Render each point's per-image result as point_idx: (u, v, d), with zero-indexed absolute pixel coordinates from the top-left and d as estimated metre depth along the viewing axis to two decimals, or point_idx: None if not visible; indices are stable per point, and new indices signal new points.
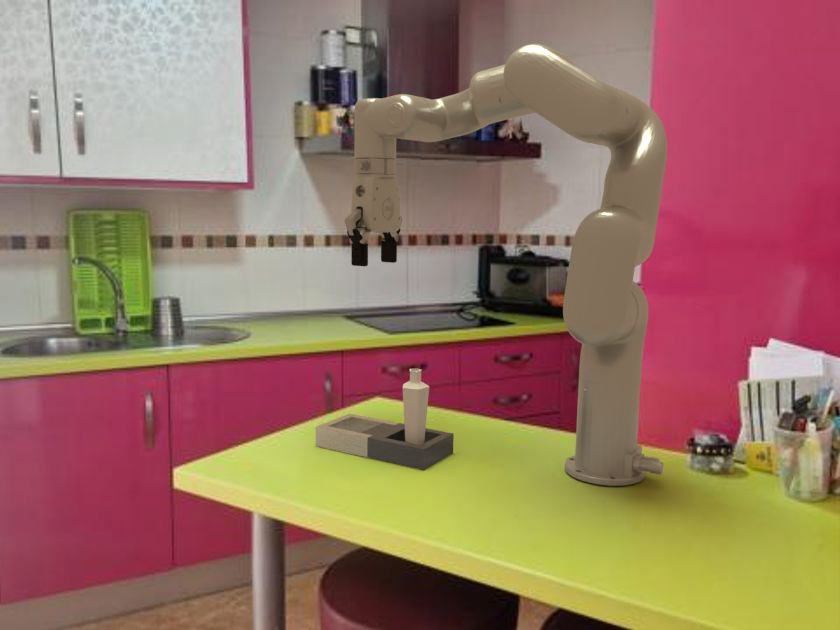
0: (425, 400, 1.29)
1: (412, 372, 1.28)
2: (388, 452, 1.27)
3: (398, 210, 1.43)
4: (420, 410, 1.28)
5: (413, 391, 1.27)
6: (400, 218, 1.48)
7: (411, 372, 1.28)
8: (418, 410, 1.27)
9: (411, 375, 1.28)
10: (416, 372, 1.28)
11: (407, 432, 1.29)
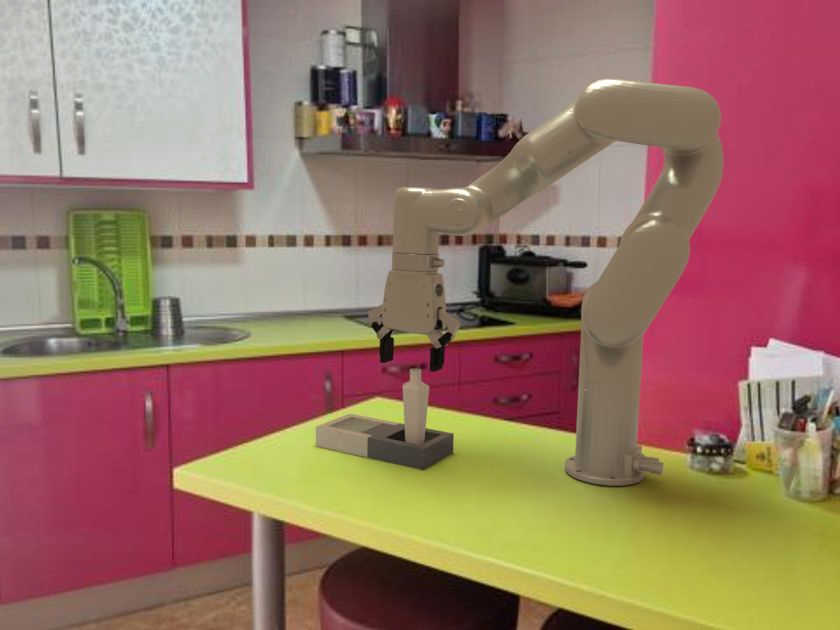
0: (425, 400, 1.29)
1: (412, 372, 1.28)
2: (388, 452, 1.27)
3: None
4: (420, 410, 1.28)
5: (413, 391, 1.27)
6: None
7: (411, 372, 1.28)
8: (418, 410, 1.27)
9: (411, 375, 1.28)
10: (416, 372, 1.28)
11: (407, 432, 1.29)
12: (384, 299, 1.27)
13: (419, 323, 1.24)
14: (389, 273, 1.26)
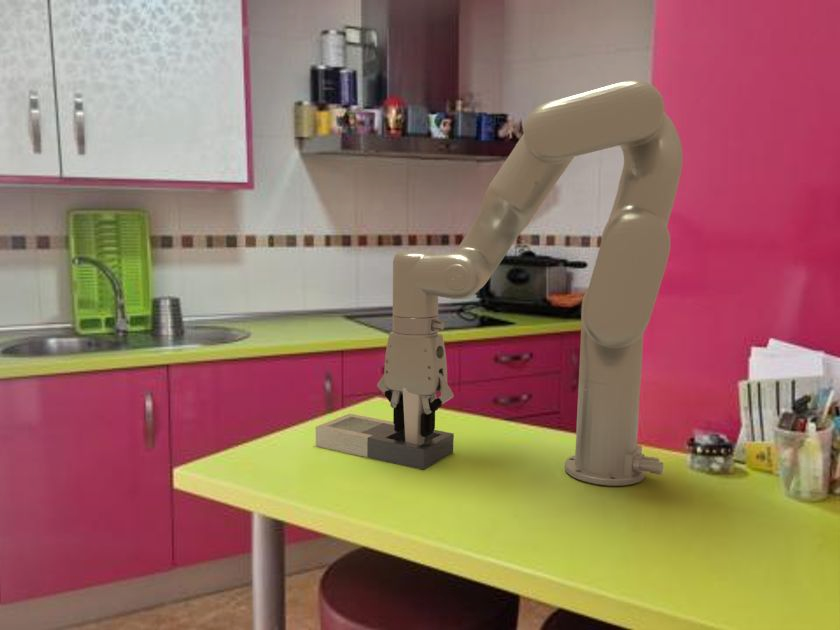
0: None
1: None
2: (388, 452, 1.27)
3: None
4: (420, 409, 1.28)
5: None
6: None
7: None
8: (418, 410, 1.28)
9: None
10: None
11: (407, 432, 1.29)
12: (386, 361, 1.29)
13: (421, 385, 1.26)
14: (390, 335, 1.28)
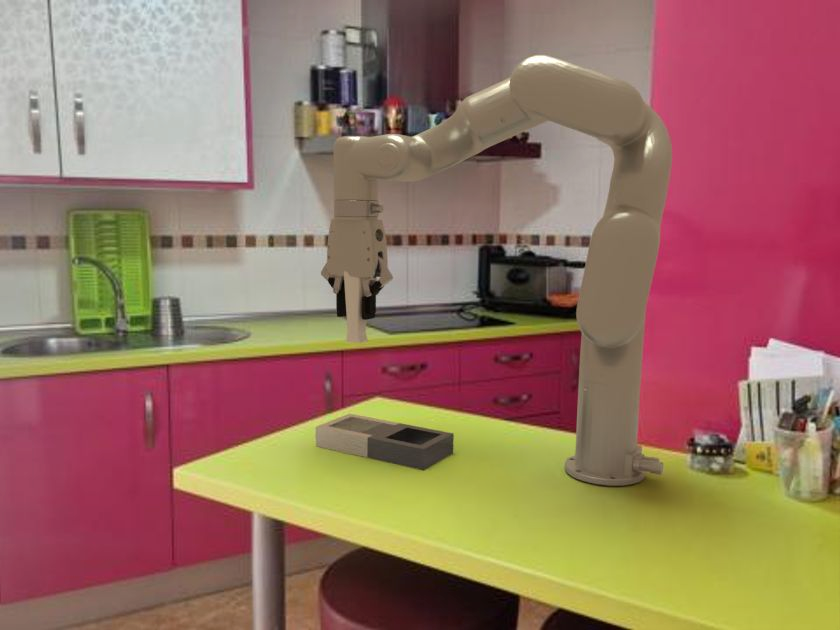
0: None
1: None
2: (388, 452, 1.27)
3: None
4: (360, 293, 1.31)
5: None
6: None
7: None
8: (358, 293, 1.31)
9: None
10: None
11: (349, 315, 1.32)
12: (328, 246, 1.32)
13: (361, 267, 1.29)
14: (331, 221, 1.31)
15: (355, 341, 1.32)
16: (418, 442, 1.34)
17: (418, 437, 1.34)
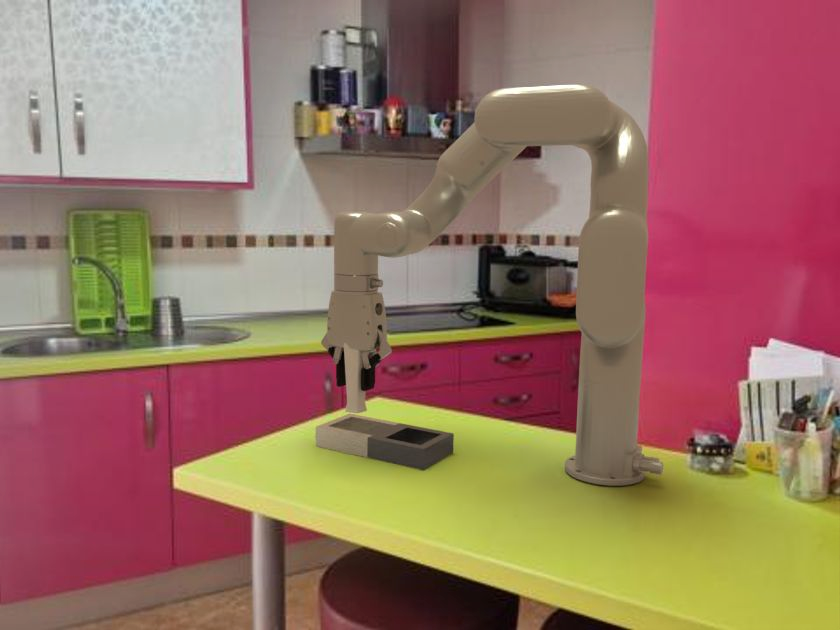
0: None
1: None
2: (388, 452, 1.27)
3: None
4: (360, 364, 1.33)
5: None
6: None
7: None
8: (358, 365, 1.33)
9: None
10: None
11: (348, 386, 1.34)
12: (328, 318, 1.34)
13: (360, 340, 1.31)
14: (332, 293, 1.33)
15: (354, 411, 1.34)
16: (418, 442, 1.34)
17: (418, 437, 1.34)
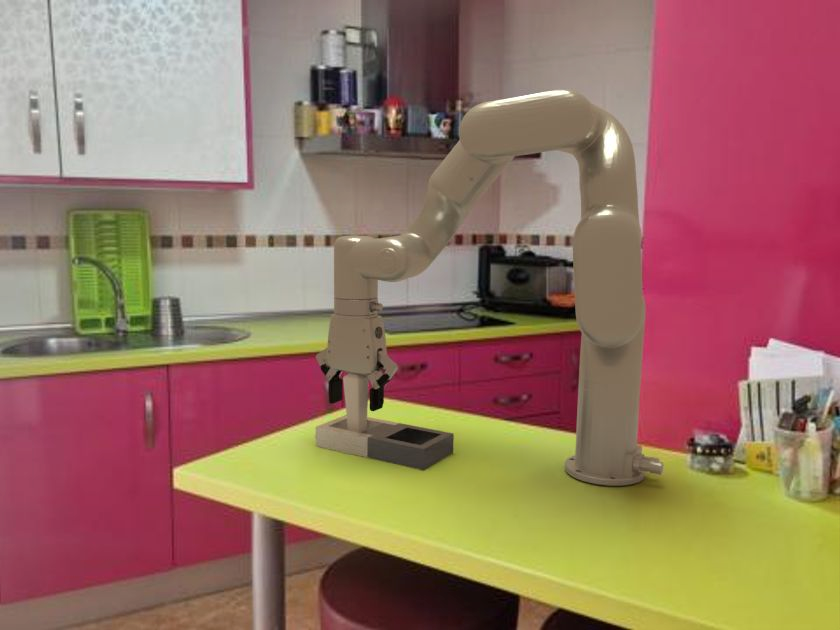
0: (365, 389, 1.35)
1: None
2: (388, 452, 1.27)
3: None
4: (360, 399, 1.34)
5: (353, 381, 1.33)
6: None
7: None
8: (358, 399, 1.34)
9: None
10: None
11: (349, 420, 1.35)
12: (328, 341, 1.35)
13: (360, 364, 1.32)
14: (332, 317, 1.34)
15: None
16: (418, 442, 1.34)
17: (418, 437, 1.34)
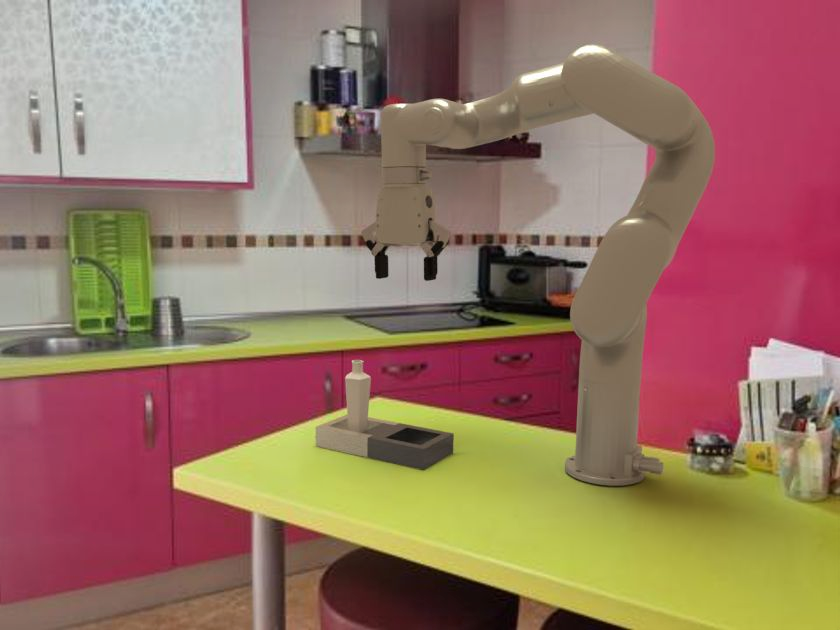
0: (367, 390, 1.35)
1: (354, 363, 1.34)
2: (388, 452, 1.27)
3: None
4: (361, 399, 1.34)
5: (355, 381, 1.33)
6: None
7: (353, 363, 1.34)
8: (359, 399, 1.34)
9: (353, 366, 1.34)
10: (358, 363, 1.34)
11: (350, 420, 1.35)
12: (376, 215, 1.33)
13: (411, 234, 1.30)
14: (380, 189, 1.32)
15: None
16: (418, 442, 1.34)
17: (418, 437, 1.34)
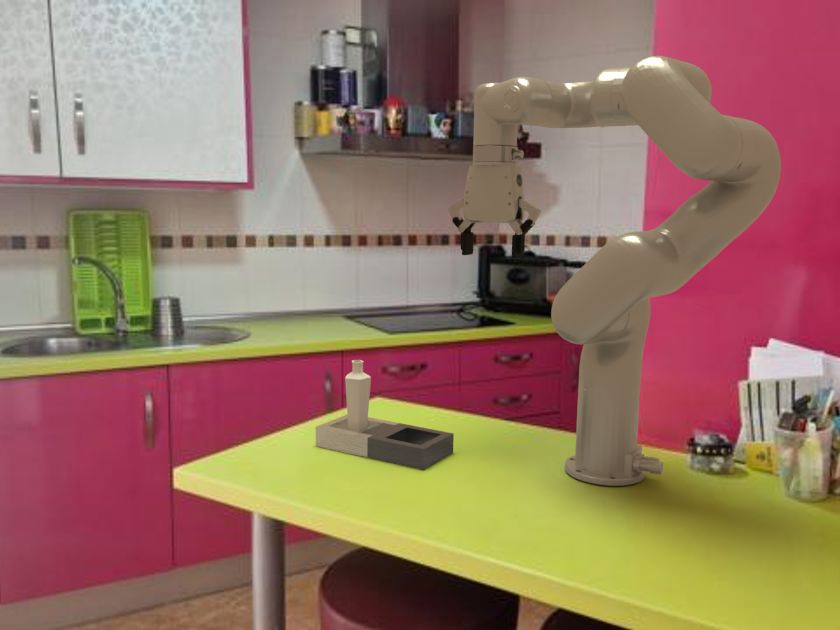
0: (367, 390, 1.35)
1: (354, 363, 1.34)
2: (388, 452, 1.27)
3: None
4: (361, 399, 1.34)
5: (355, 381, 1.33)
6: None
7: (353, 363, 1.34)
8: (359, 399, 1.34)
9: (353, 366, 1.34)
10: (358, 363, 1.34)
11: (350, 420, 1.35)
12: (466, 193, 1.35)
13: (501, 212, 1.32)
14: (470, 167, 1.34)
15: None
16: (418, 442, 1.34)
17: (418, 437, 1.34)
